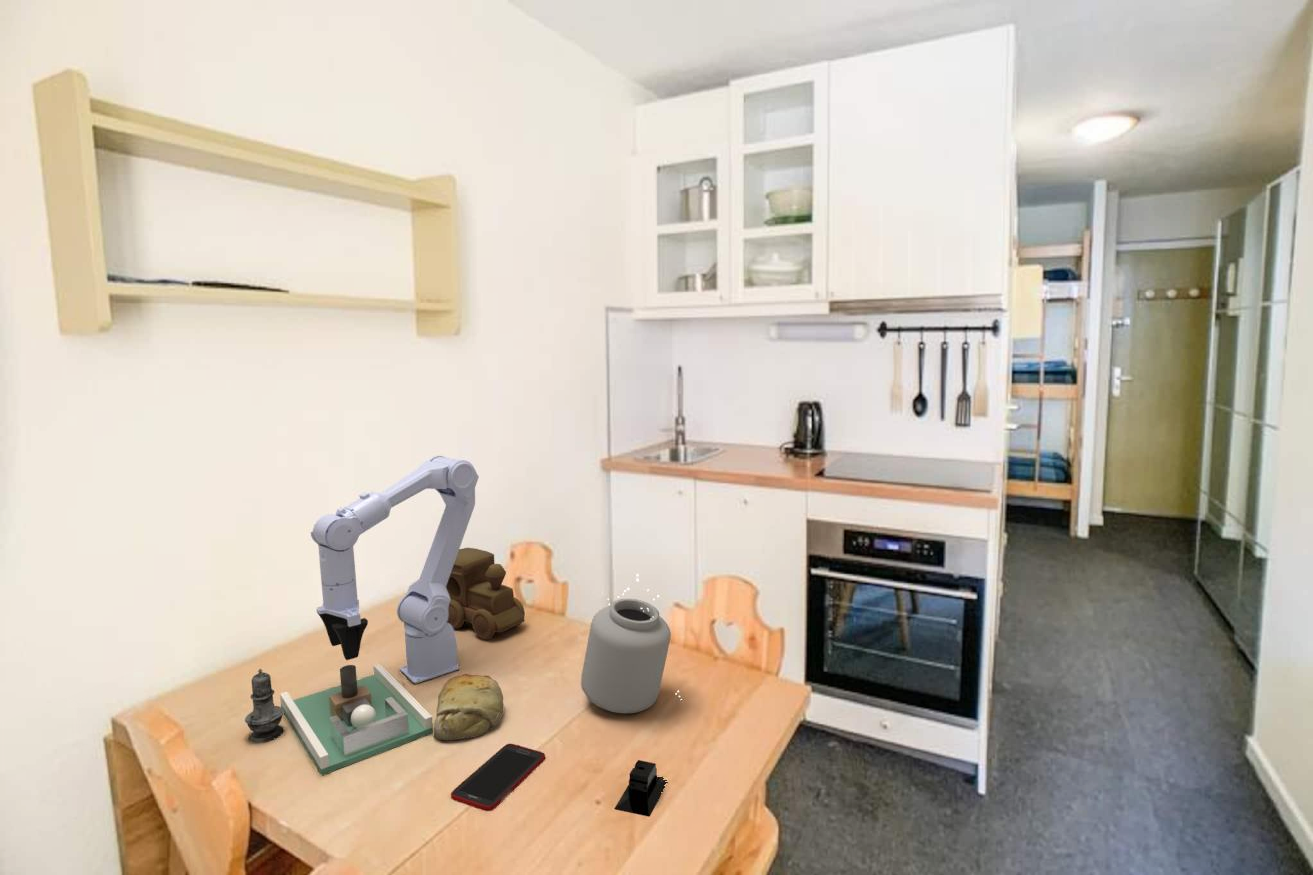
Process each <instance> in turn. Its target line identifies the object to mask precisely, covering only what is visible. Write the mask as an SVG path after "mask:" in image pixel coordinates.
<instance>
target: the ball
mask: <svg viewBox="0 0 1313 875" xmlns="http://www.w3.org/2000/svg"><path fill="white" fill-rule="evenodd" d="M375 719H376V712H375V710H374V708H373V707H372V706H370V705H366V704H365V705H360V706H358V707H357V708H355V709H354V711H353V712H352V715H351V723H352V725H353V726H354V727H355V728H359V727H362V726H365V725H368V724H370V723H373V722H374V721H375Z"/></svg>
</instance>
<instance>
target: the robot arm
mask: <svg viewBox="0 0 1313 875" xmlns="http://www.w3.org/2000/svg"><path fill="white" fill-rule="evenodd" d="M478 481H479V475H478V473H477V470H476V469H475V467H474V464H472V463H471V462H470V461H468V460H464V459H462V460H461V459H455V458H450V457H446V456H443V455H436V456H432V457H431V458H429V460H425V461H423V462H421V464H420V465H419V466H418V467H417V468H416V469H414V470H413V471H411V472H410V473H409V474H406V475H405V476H404V477H403V478H401V479H399V480H398V481H397V482H395V483H394V484H392V485H391V486H389V487H388V488H387V489H385V490H383V491H382V492H381V493H379V492H375V491H370V492H366V491H365V492H361V494H359V495H358V496H359V499H357V500H354V501H353V502H351V503H350V504H348V505H347V506H344V507H339V508H337V509H336V512H335V514H333V513H331V514H330V513H328V514H324V515H323V516H321V517H319V518H318V519H317V520H316V523H314V525H313V528H312V531H310V536H311V539H312V541H314V543H316V544H317V545H318V556H319V569H320V570H319V571H320V572H319V573H320V580H321V590H322V594H321V595H322V605H321V606H318V607H316V613H317V615H318V616H319V617H320V619H321V621H322V622H323V625H324V627H325V629H326V633H327V636H328V640H329V643H330V645H331V646H332V647H335V646H340V645H341V646H340V647H341V650H342V655H343V657H344V659H345V661H350V660H353V659H356V658H358V657H359V654H360V651H361V650H360V649H361V642H362V639H363V635H364V632H365V630H366V629H367V627H368V623H369V620H368V619H367V618H366V617H363V618H361V613H360V612H359V611H360V600H359V599H358V587H357V574H356V563H355V562H356V561H355V550H354V546H355V545H356V543H357V542H358V540H359V537H360V536H361V535H363V534H364V533H366V532H367V531H369V530H370V529H372V528H373V527H376V526H377V525H378V524H380V523H381V522H382V521H384V520H386V519H388V518H389V516H390V512H391V510H392V508H393V507H396V506H397V505H399V504H400V503H403V502H404V501H406V500H408V499H410V498H412V497H413V496H416V495H417V494H419V493H421V492H422V491H424V490H428V489H429V490H430V489H431V490H435V491H436V492H437V493H438V494H439V495H440V497H441V499H442V501H443V502H444V505H445V507H444V510H443V513H442V516H441V519H440V522H439V524H438V527H437V529H436V532H435V534H434V538H433V541H432V543H431V546H430V549H429V552H428V554H427V557H426V559H425V562H424V565H423V568H422V571H421V573H420V575H419V578H418V580H416V581H414V582H413V583H412V584H410V585H409V587H408V589H407V592H406V593H405V595H404V596H403V597H402V598H401V599H400V600H399V602H398V604H397V608H396V615H397V617H398V619H399V620H400V621H401V622H402V623H403V629H404V638H405V639H404V640H405V653H406V655H405V656H406V665H403V666H402V667H400V668H399V670H400V671H401V673H403V675H404V676H406V677H407V678H408V679H409V680H410V681H411V682H412V684H420V683H421V682H425V681H428V680H431V679H434V678H437V677H440V676H443V675H445V674H446V675H447V674H449V673H451V672H455V671H457V670H459V669H460V666H459V665H458V664H459V663H458V649H457V648H458V647H457V643H458V642H457V637H456V632H455V629H454V628H453V627H452V626H451V624H449V623H447V621H448V616H449V613H448V607H449V603H450V600H451V599H450V596H449V594H448V591H447V589H446V585H447V582H448V580H449V577H450V574H451V571H452V568H453V565H454V563H455V560H456V557H457V554H458V551H459V549H461V546H462V543H463V540H464V537H465V534H466V531H467V528H468V525H469V523H470V520H471V518H472V514H473V511H474V509H475V507H476V506H475V505H476V486H477V483H478Z"/></svg>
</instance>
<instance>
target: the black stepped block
mask: <svg viewBox="0 0 1313 875" xmlns="http://www.w3.org/2000/svg"><path fill="white" fill-rule="evenodd" d="M657 773H658V772H657V764H656V763H654V762H650V761H645V760H639V759H637V761H636V762H635V764H634V767H633V768H632V769H631V771H630V772H629V780H628V785H627V786H626V788H625V790H624V791H623V793H622V795H621V796H620V798H619V800H618V801H617V804H616V805H615V807H614V810H616V811H620V812H625V813H630V814H634V815H639V816H644V817H649V818H650V817H651V816H652V814H653V812H654V810H655V808H656V806H657V804H658V802H659V801H660V799H661V797H662V795H663V793H664V791H663V789H664V788H665V789H666V787H665V786H664V785H665V784H666V783H667V784H669V782H665V781H667V780H663V779H664V778H663V777H664V776H662V777H657V775H658V774H657ZM665 789H664V790H665ZM661 792H663V793H661ZM661 794H662V795H661Z"/></svg>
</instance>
